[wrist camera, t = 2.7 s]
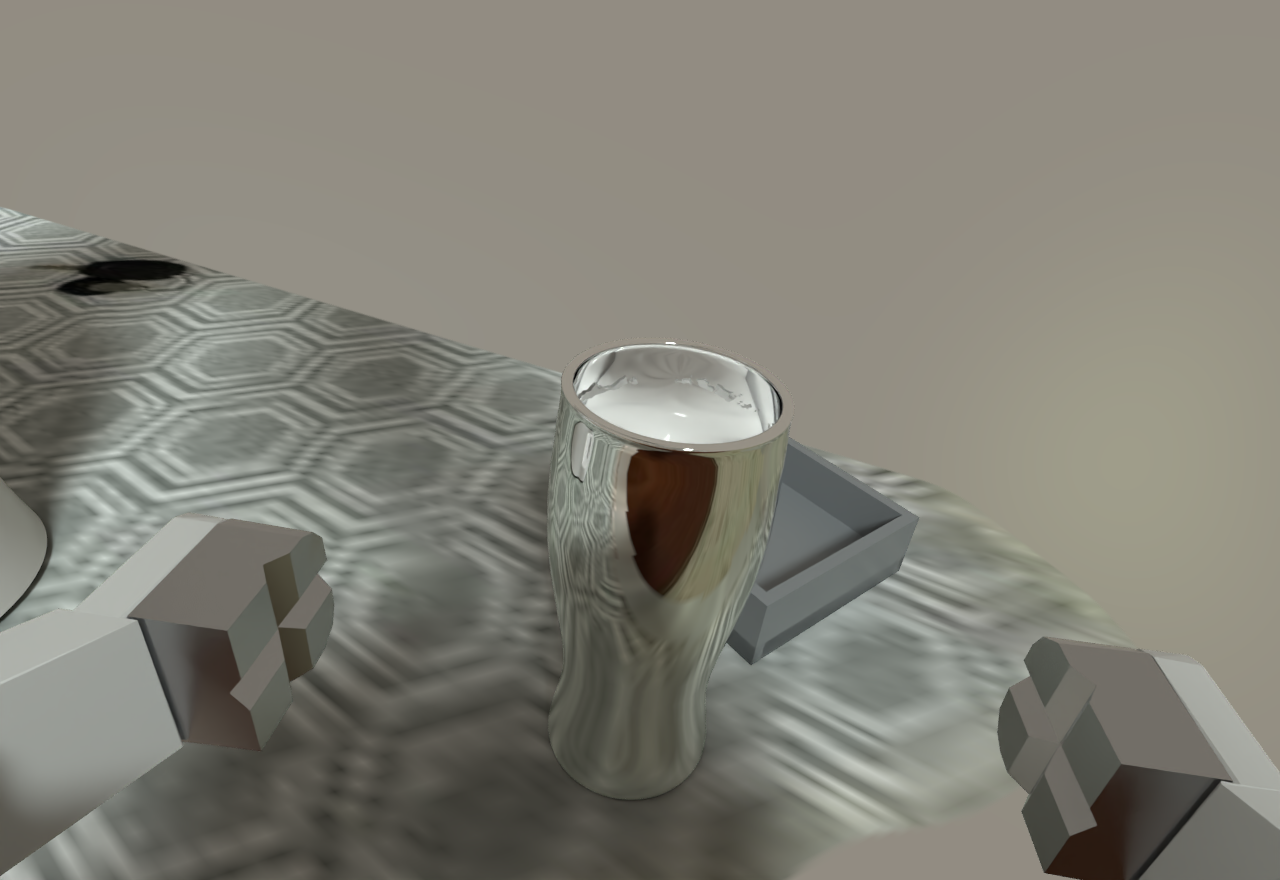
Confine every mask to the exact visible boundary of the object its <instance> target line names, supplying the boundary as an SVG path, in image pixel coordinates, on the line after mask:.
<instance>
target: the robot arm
mask: <svg viewBox="0 0 1280 880" xmlns="http://www.w3.org/2000/svg"><path fill="white" fill-rule="evenodd" d="M46 548H47V534H46V530H45V527H44V525H43V523H42V521H41V519H40V518H39V517H38V515H37V514H36V513H35V512H34V511H33V510H32V509H31V508H30V507H28V506H27V505H26V504H25V503H24V502H23V501H22V500H21V499H20V498H19V497H18V496H17V495H16V494H15V493H14V492H13V491H12V490H11V489H10V488H9V487H8V486H7V484H6V483H5V482H4V481H3V480H2V478H1V477H0V617H1V616H2V615H3V614H4V613H5V612H6V611H7V610H8V609H10V608H11V607H12V606H13V605H14V603H15V602H16V601H17V600H18V599H19V598H20V597H21V596H22V595H23V593H24V592H25V591H26V589H27V588H28V587H29V586H30V584H31V583H32V581H33V580H34V578H35V577H36V575H37V573H38V571H39V569H40V567H41V565H42V563H43V560H44V557H45V554H46ZM326 561H327V558H326V553H325V549H324V544H323V540H322V537H320V536H318V535H317V534H315V533H313V532H308V531H302V530H296V529H290V528H284V527H278V526H272V525H266V524H260V523H254V522H248V521H242V520H236V519H224V518H218V517H213V516H207V515H201V514H195V513H190V512H189V513H186V514H183V515H179V516H176V517H174V518H173V519H172V520H170V521H169V522H168V523H167V524H166V525H165V526H164V527H163V528H162V529H161V530H160V531H159V532H157V533H156V534H155V535H154V536H153V537H152V538H151V539H150V540H149V541H148V542H147V543H146V544H144V545H143V546H142V547H141V548H140V549H139V550H138V551H137V552H136V553H135V554H134V555H133V556H131V557H130V558H129V559H128V560H127V561H126V562H125V563H124V564H123V565H122V566H121V567H120V568H118V569H117V570H116V571H115V572H114V573H113V574H112V575H111V576H110V577H109V578H108V579H107V580H105V581H104V582H103V583H102V584H101V585H100V586H99V587H98V588H97V589H96V590H95V591H94V592H92V593H91V594H90V595H89V596H88V597H87V598H86V599H85V600H84V601H83V602H82V603H81V604H79V605H78V606H77V607H76V608H75V609H74V610H67V609H59V608H58V609H56V610H54V611H51V612H49V613H46V614H44V615H41V616H39V617H37V618H34V619H32V620H29V621H27V622H24V623H22V624H20V625H17V626H15V627H12V628H10V629H7V630H5V631H3V632H0V876H1V875H2V874H4V873H5V872H7V871H8V870H9V869H11V868H12V867H14V866H15V865H17V864H18V863H19V862H21V861H22V860H24V859H25V858H26V857H28V856H29V855H31V854H32V853H33V852H35V851H36V850H38V849H39V848H41V847H42V846H43V845H45V844H46V843H48V842H49V841H50V840H52V839H53V838H55V837H56V836H57V835H59V834H60V833H62V832H63V831H65V830H66V829H67V828H69V827H70V826H72V825H73V824H74V823H76V822H77V821H79V820H80V819H81V818H83V817H84V816H86V815H87V814H89V813H90V812H91V811H93V810H94V809H96V808H97V807H98V806H100V805H101V804H103V803H104V802H105V801H107V800H108V799H110V798H111V797H113V796H114V795H115V794H117V793H118V792H120V791H121V790H122V789H124V788H125V787H127V786H128V785H129V784H131V783H132V782H134V781H135V780H137V779H138V778H139V777H141V776H142V775H144V774H145V773H146V772H148V771H149V770H151V769H152V768H153V767H155V766H156V765H158V764H159V763H161V762H162V761H163V760H165V759H166V758H168V757H169V756H170V755H172V754H173V753H175V752H176V751H177V750H179V749H180V748H182V747H183V742H190V743H197V744H205V745H213V746H221V747H229V748H237V749H245V750H253V751H262V749H263V748H264V746H265V745H266V743H267V741H268V740H269V738H270V737H271V735H272V734H273V732H274V730H275V729H276V727H277V726H278V724H279V722H280V721H281V719H282V718H283V716H284V714H285V713H286V711H287V710H288V708H289V706H290V705H291V703H292V702H293V697H292V691H291V686H290V682H291V681H293V680H295V679H296V678H298V677H300V676H302V675H303V674H305V673H307V672H308V671H310V670H312V669H313V668H314V666H315V664H316V663H317V661H318V659H319V658H320V656H321V654H322V653H323V651H324V649H325V647H326V644H327V641H328V638H329V635H330V631H331V628H332V625H333V616H334V600H333V593H332V589H331V588H330V586H329V585H328V584H327V583H326V582H325V581H324V580H323V579H322V578H321V577H320V576H319V575H318V574H317V573H318V572H319V571H320V569H321V568H322V566H323V565H324V563H325V562H326ZM1024 662H1025V664H1026V667H1027V669H1028V671H1029V674H1030V677H1028V678H1026V679H1024V680H1022V681H1021V682H1019V683H1017V684H1015V685H1013V686H1012V687H1010V688H1009V689H1008V692H1007V694H1006V696H1005V698H1004V700H1003V702H1002V704H1001V707H1000V710H999V720H998V731H997V733H998V740H999V746H1000V752H1001V755H1002V758H1003V761H1004V764H1005V767H1006V770H1007V773H1008V774H1009V775H1010V776H1011V777H1012V778H1013V779H1014V780H1015V781H1016V782H1017V783H1018V784H1019V785H1020V786H1021V787H1022V788H1023V789H1024V790H1025V791H1026V792H1027V793H1028V794H1029V795H1028V797H1027V800H1026V802H1025V804H1024V807H1023V809H1022V814H1023V817H1024V820H1025V823H1026V825H1027V828H1028V830H1029V833H1030V836H1031V839H1032V841H1033V844H1034V847H1035V849H1036V852H1037V855H1038V857H1039V860H1040V863H1041V866H1042V869H1043V871H1044V873H1046V874H1052V875H1057V876H1062V877H1068V878H1074V879H1079V880H1280V772H1279V771H1278V770H1277V768H1276V767H1275V765H1274V764H1273V763H1272V761H1271V760H1270V758H1269V757H1268V756H1267V754H1266V753H1265V751H1264V750H1263V749H1262V747H1261V746H1260V745H1259V743H1258V742H1257V740H1256V739H1255V738H1254V736H1253V735H1252V733H1251V732H1250V731H1249V729H1248V728H1247V726H1246V725H1245V724H1244V722H1243V721H1242V720H1241V718H1240V717H1239V715H1238V714H1237V713H1236V711H1235V710H1234V708H1233V707H1232V706H1231V704H1230V703H1229V701H1228V700H1227V699H1226V697H1225V696H1224V695H1223V693H1222V692H1221V690H1220V689H1219V688H1218V686H1217V685H1216V683H1215V682H1214V681H1213V679H1212V678H1211V676H1210V675H1209V674H1208V672H1207V671H1206V670H1205V668H1204V667H1203V666H1202V665H1201V664H1200V663H1199V662H1197V661H1196V660H1194V659H1193V658H1191V657H1190V656H1188V655H1184V654H1176V653H1168V652H1161V651H1152V650H1145V649H1136V650H1135V649H1131V648H1125V647H1118V646H1110V645H1103V644H1095V643H1088V642H1081V641H1073V640H1066V639H1058V638H1051V637H1042V638H1041V639H1040V640H1038V641H1037V642H1035V643H1034V644H1033V645H1032V647H1031V648H1030V650H1029V652H1028V654H1027V656H1026V657H1025V659H1024Z"/></svg>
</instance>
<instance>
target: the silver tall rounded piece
mask: <svg viewBox="0 0 1280 880" xmlns="http://www.w3.org/2000/svg"><path fill="white" fill-rule="evenodd" d="M794 410H795V409H794V401H793V398H792V395H791V394H790V392H789V390H788V388H787V387H786V386H785V385H784V383H783V382H782V381H781V380H780V379H779V378H778V377H777V376H775V375H774V374H773V373H772V372H770V371H769V370H768V369H766V368H765V367H763V366H761V365H760V364H758V363H756V362H754V361H752V360H750V359H748V358H746V357H744V356H741V355H739V354H737V353H734V352H732V351H729V350H725V349H722V348H719V347H716V346H712V345H708V344H704V343H699V342H694V341H688V340H681V339H672V338H631V339H622V340H616V341H611V342H607V343H603V344H600V345H597V346H594V347H592V348H589V349H587V350H585V351H583V352H581V353H580V354H578V355H577V356H575V357H574V358H573V359H572V360H571V361H570V362H569V363H568V364H567V366H566V367H565V369H564V371H563V374H562V377H561V396H560V403H559V409H558V416H557V422H556V428H555V434H554V441H553V449H552V456H551V463H550V474H549V486H548V498H547V543H548V552H549V562H550V572H551V578H552V584H553V591H554V597H555V603H556V608H557V614H558V619H559V625H560V630H561V637H562V644H563V667H562V673H561V676H560V679H559V682H558V685H557V688H556V691H555V694H554V697H553V700H552V703H551V707H550V711H549V717H548V734H549V739H550V743H551V747H552V749H553V752H554V754H555V756H556V758H557V760H558V762H559V763H560V765H561V766H562V767H563V769H564V770H565V771H566V772H567V773H568V774H569V775H570V776H571V777H572V778H573V779H574V780H575V781H577V782H578V783H579V784H581V785H582V786H584V787H586V788H587V789H589V790H591V791H593V792H596V793H598V794H601V795H604V796H607V797H611V798H616V799H624V800H639V799H646V798H651V797H655V796H658V795H661V794H664V793H666V792H668V791H670V790H672V789H674V788H675V787H677V786H678V785H679V784H681V783H682V782H683V781H684V780H685V779H686V778H687V777H688V776H689V775H690V774H691V773H692V771H693V770H694V769H695V767H696V766H697V764H698V762H699V760H700V758H701V756H702V753H703V749H704V745H705V739H706V705H705V697H706V689H707V684H708V681H709V678H710V675H711V672H712V670H713V668H714V666H715V664H716V662H717V660H718V658H719V656H720V654H721V652H722V650H723V648H724V646H725V644H726V642H727V641H728V639H729V637H730V635H731V633H732V631H733V629H734V627H735V625H736V623H737V621H738V619H739V617H740V615H741V613H742V611H743V609H744V607H745V605H746V603H747V601H748V599H749V596H750V594H751V592H752V589H753V587H754V585H755V582H756V580H757V578H758V575H759V573H760V570H761V567H762V564H763V560H764V557H765V554H766V550H767V547H768V544H769V540H770V537H771V534H772V529H773V525H774V520H775V516H776V511H777V507H778V502H779V497H780V491H781V485H782V479H783V473H784V467H785V459H786V452H787V445H788V438H789V432H790V426H791V422H792V419H793V416H794Z"/></svg>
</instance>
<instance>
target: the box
mask: <svg viewBox="0 0 1280 880" xmlns="http://www.w3.org/2000/svg"><path fill="white" fill-rule="evenodd" d="M918 520H919V517H918V516H916V515H915V514H913V513H911V512H910V511H908V510H906V509H905V508H903V507H902V506H900V505H898V504H897V503H895V502H894V501H892V500H890V499H889V498H887V497H885V496H884V495H882V494H881V493H879V492H877V491H876V490H874V489H872V488H871V487H869V486H868V485H866V484H864V483H863V482H861V481H860V480H858V479H856V478H855V477H853V476H851V475H850V474H848V473H847V472H845V471H843V470H842V469H840V468H839V467H837V466H835V465H834V464H832V463H830V462H829V461H827V460H826V459H824V458H822V457H821V456H819V455H818V454H816V453H814V452H813V451H811V450H809V449H808V448H806V447H805V446H803V445H801V444H800V443H798V442H797V441H795V440H793V439H792V438H790V437H789V438H788V445H787V452H786V459H785V467H784V473H783V479H782V485H781V491H780V497H779V502H778V507H777V511H776V516H775V520H774V525H773V529H772V534H771V537H770V540H769V544H768V547H767V550H766V554H765V557H764V560H763V564H762V567H761V570H760V573H759V575H758V578H757V580H756V582H755V585H754V587H753V589H752V592H751V594H750V596H749V599H748V601H747V603H746V605H745V607H744V609H743V611H742V613H741V615H740V617H739V619H738V621H737V623H736V625H735V627H734V629H733V631H732V633H731V635H730V637H729V639H728V641H727V643H728V644H729V645H730V646H731V647H732V648H733V649H735V650H736V651H737V652H738V653H739V654H740V655H741V656H742V657H743V658H744V659H745V660H746V661H748V662H749V663H750V664H751V665H752V664H753V663H755V662H757V661H758V660H760V659H761V658H763V657H764V656H766V655H767V654H769V653H771V652H772V651H774V650H775V649H777V648H778V647H780V646H782V645H783V644H785V643H786V642H788V641H789V640H791V639H792V638H794V637H796V636H797V635H799V634H800V633H802V632H803V631H805V630H807V629H808V628H810V627H811V626H813V625H814V624H816V623H817V622H819V621H821V620H822V619H824V618H825V617H827V616H828V615H830V614H832V613H833V612H835V611H836V610H838V609H839V608H841V607H842V606H844V605H846V604H847V603H849V602H850V601H852V600H853V599H855V598H857V597H858V596H860V595H861V594H863V593H864V592H866V591H867V590H869V589H871V588H872V587H874V586H875V585H877V584H878V583H880V582H882V581H883V580H885V579H886V578H888V577H889V576H891V575H892V574H894V573H896V572H897V571H899V569H900V566H901V563H902V561H903V558H904V556H905V553H906V551H907V548H908V545H909V543H910V540H911V538H912V535H913V533H914V530H915V527H916V525H917V522H918Z"/></svg>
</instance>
